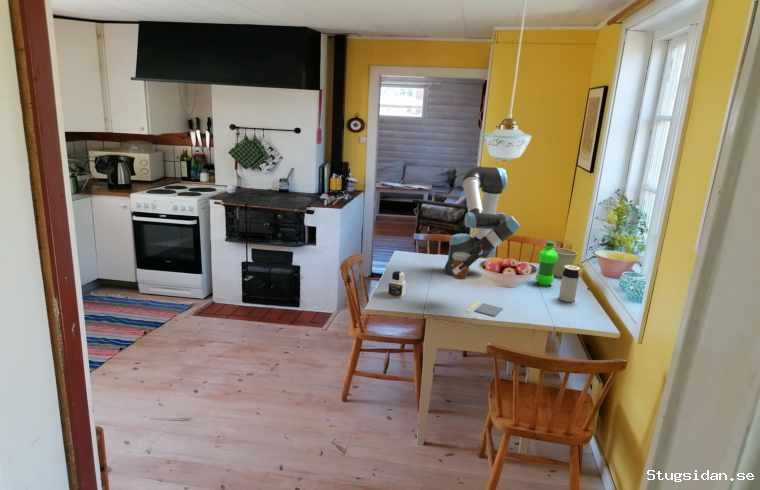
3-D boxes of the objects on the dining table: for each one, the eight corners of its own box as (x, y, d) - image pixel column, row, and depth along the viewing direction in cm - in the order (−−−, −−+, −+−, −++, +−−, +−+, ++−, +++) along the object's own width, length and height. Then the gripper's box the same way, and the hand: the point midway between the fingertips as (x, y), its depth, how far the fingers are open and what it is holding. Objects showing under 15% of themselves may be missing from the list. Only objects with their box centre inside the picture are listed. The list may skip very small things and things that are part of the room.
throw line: (466, 311, 230) (466, 311, 230) (477, 302, 244) (477, 301, 243) (468, 312, 230) (468, 311, 230) (480, 302, 243) (480, 302, 243)
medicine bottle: (387, 295, 245) (389, 273, 242) (392, 291, 251) (394, 269, 248) (401, 298, 242) (403, 275, 239) (405, 293, 249) (407, 271, 246)
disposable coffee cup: (469, 275, 242) (472, 252, 239) (469, 281, 233) (471, 257, 230) (450, 273, 244) (452, 250, 241) (449, 279, 235) (451, 255, 232)
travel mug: (574, 303, 251) (580, 270, 246) (558, 300, 253) (564, 268, 249) (574, 298, 258) (580, 266, 254) (558, 295, 261) (564, 264, 256)
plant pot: (556, 280, 288) (560, 254, 284) (542, 272, 302) (546, 247, 298) (577, 279, 292) (582, 254, 288) (563, 272, 305) (567, 247, 301)
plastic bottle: (557, 286, 276) (564, 244, 270) (541, 287, 272) (548, 245, 266) (545, 281, 285) (552, 240, 279) (530, 281, 281) (537, 240, 275)
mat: (474, 311, 231) (474, 310, 231) (483, 304, 241) (483, 303, 241) (494, 316, 226) (494, 315, 226) (502, 309, 236) (502, 308, 236)
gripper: (498, 252, 222) (459, 282, 228) (493, 241, 243) (457, 269, 249) (487, 240, 222) (449, 270, 227) (483, 230, 242) (448, 258, 248)
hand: (453, 269), depth 238 cm, fingers closed on disposable coffee cup, 8 cm apart
